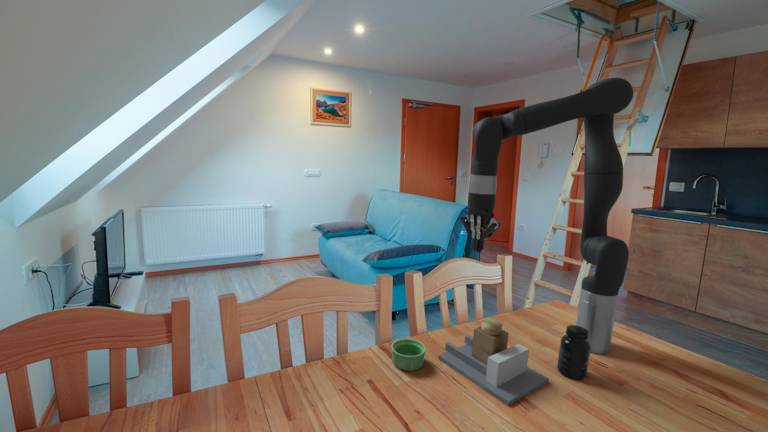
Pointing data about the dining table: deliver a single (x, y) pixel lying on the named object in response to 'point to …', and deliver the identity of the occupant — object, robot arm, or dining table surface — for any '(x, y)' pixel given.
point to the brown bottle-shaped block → (489, 340)
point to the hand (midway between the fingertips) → (477, 251)
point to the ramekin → (408, 354)
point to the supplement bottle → (574, 353)
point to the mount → (496, 370)
